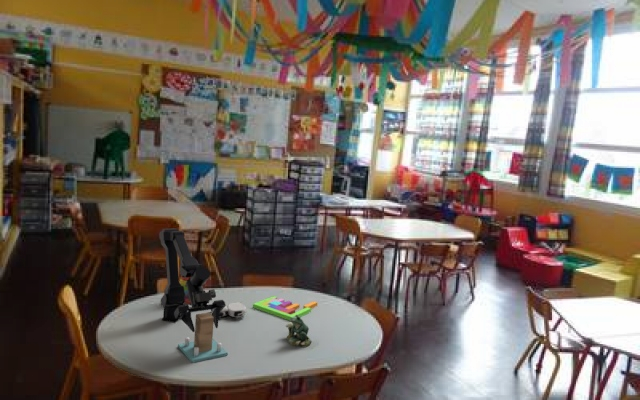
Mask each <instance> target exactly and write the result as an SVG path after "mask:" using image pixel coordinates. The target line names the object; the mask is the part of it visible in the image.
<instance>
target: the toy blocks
mask: <svg viewBox="0 0 640 400" xmlns="http://www.w3.org/2000/svg"><path fill="white" fill-rule="evenodd" d="M318 303H319V302H317V301H311V302H308V303H306V304H304V305H303V306H302V309H300V304H299V303H293V302H292V301H291V300H288V301H285V298H279V299H278V296H275V295H274V296H271V297H268V298H265V299H263V300H259V301H257V302H255V303H253V304H252V308H254V309H257V310H258V311H262V312H266V313H268V314H271V315H272V316H276V317H279V318H282V319H285V320H288V321H290V318H291V317H295V316H296V315H298V316H299V317H300V318H301V317H303V316H305V315H307V313H308V314H310V313H312V309H313V308H315V306H316V307H318ZM298 309H300V310H298ZM296 310H298V311H296ZM309 312H310V313H309Z"/></svg>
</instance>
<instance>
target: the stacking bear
mask: <svg viewBox="0 0 640 400" xmlns="http://www.w3.org/2000/svg"><path fill="white" fill-rule="evenodd" d="M189 278H191V277H188V278H184V277H182V276H180V277H179V283H180V284H181V285H182V286H183V287H184V293H185V295H186V297H185V302H184V304H185V305H191V302H190V301H189V299H188V298H189V294H188V290H187V287H185V284H186V282H187V280H188V279H189Z"/></svg>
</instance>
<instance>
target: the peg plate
mask: <svg viewBox="0 0 640 400" xmlns="http://www.w3.org/2000/svg"><path fill="white" fill-rule="evenodd" d="M177 347H178V349H179V350H180V351H181V352H182V353H183V354H184V355H185V356H186V358H187V359H188V360H189V361H190V362H191V364H192V363H196V362H201V361H202V362H203V361H206V360H212V359H216V358H220V357H224V356H228V354H229V353H228V351H227V350H226V349H224V348H223V346H222V342H218V341H216V340H215V339H214V338H213V337H212V350H208V351H203V352H199V348H198V347H195V348H194V340H193V341H190V337H188V336H187V337H184V343H179V344H177Z"/></svg>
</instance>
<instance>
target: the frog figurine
mask: <svg viewBox="0 0 640 400" xmlns="http://www.w3.org/2000/svg"><path fill="white" fill-rule="evenodd" d="M289 321H290V322H288V323H287V324H286V325H285V327H286V328H287V329H288V335H286V340H287V341H288V343H289V344H290V345H291V346H295V347H304V348H306V347H310V346H311V343H312V341H311V339H310V337H309V336H308V333H309V329H310V328H309V326H308V325H307V324H306V323H305V322H304V321H303V319H302V318H301V317H299V316H298V315H296V316H295V317H291V318H290V320H289ZM316 345H319V342H317V344H316ZM312 349H313V347H312V348H311V350H312Z"/></svg>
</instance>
